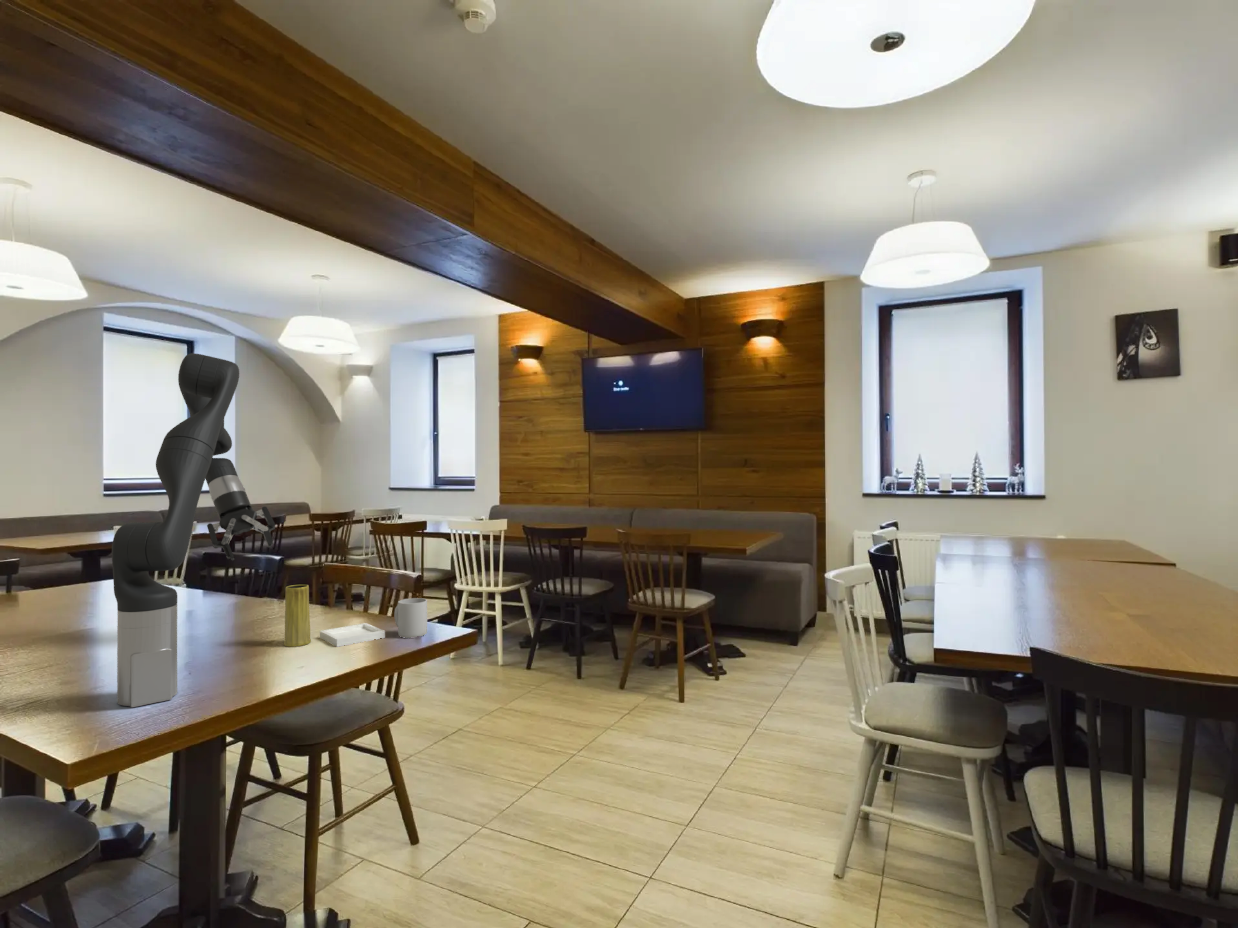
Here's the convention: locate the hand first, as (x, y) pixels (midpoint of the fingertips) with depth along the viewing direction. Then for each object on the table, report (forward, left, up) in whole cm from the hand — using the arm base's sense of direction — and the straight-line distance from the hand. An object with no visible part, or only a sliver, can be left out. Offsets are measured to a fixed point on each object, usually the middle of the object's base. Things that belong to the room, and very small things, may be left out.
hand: (251, 552), depth 162 cm
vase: (-9, -8, -23) cm, 26 cm away
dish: (-13, -20, -23) cm, 33 cm away
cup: (-20, -32, -23) cm, 44 cm away
